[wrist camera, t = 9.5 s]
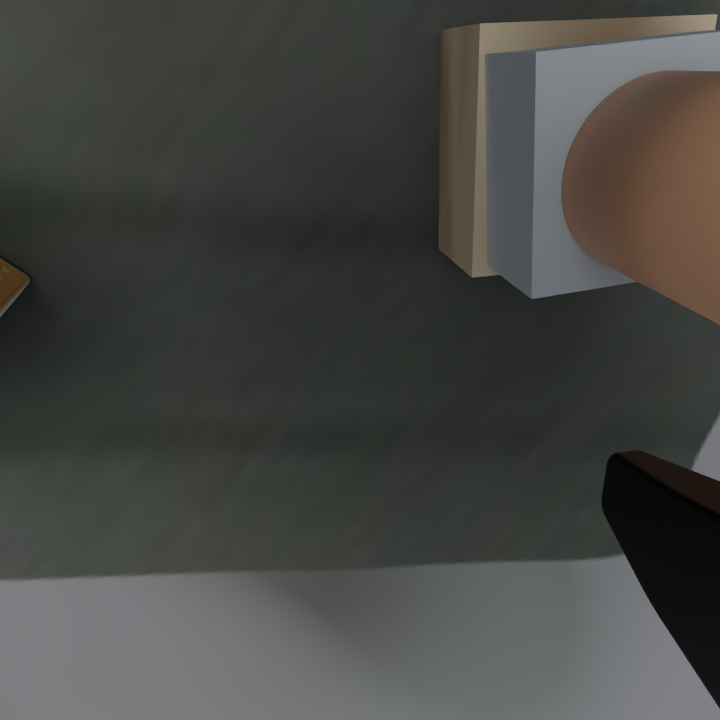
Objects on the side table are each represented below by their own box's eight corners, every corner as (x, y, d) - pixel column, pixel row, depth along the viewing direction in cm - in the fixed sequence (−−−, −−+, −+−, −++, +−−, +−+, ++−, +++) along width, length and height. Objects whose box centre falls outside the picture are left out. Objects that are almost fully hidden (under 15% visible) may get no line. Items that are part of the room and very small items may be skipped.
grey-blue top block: (487, 265, 19) (531, 299, 16) (484, 53, 16) (536, 52, 14) (663, 238, 19) (734, 266, 17) (685, 32, 17) (772, 25, 14)
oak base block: (436, 247, 22) (471, 277, 19) (437, 30, 19) (480, 23, 16) (614, 230, 23) (677, 256, 20) (640, 22, 20) (717, 14, 17)
